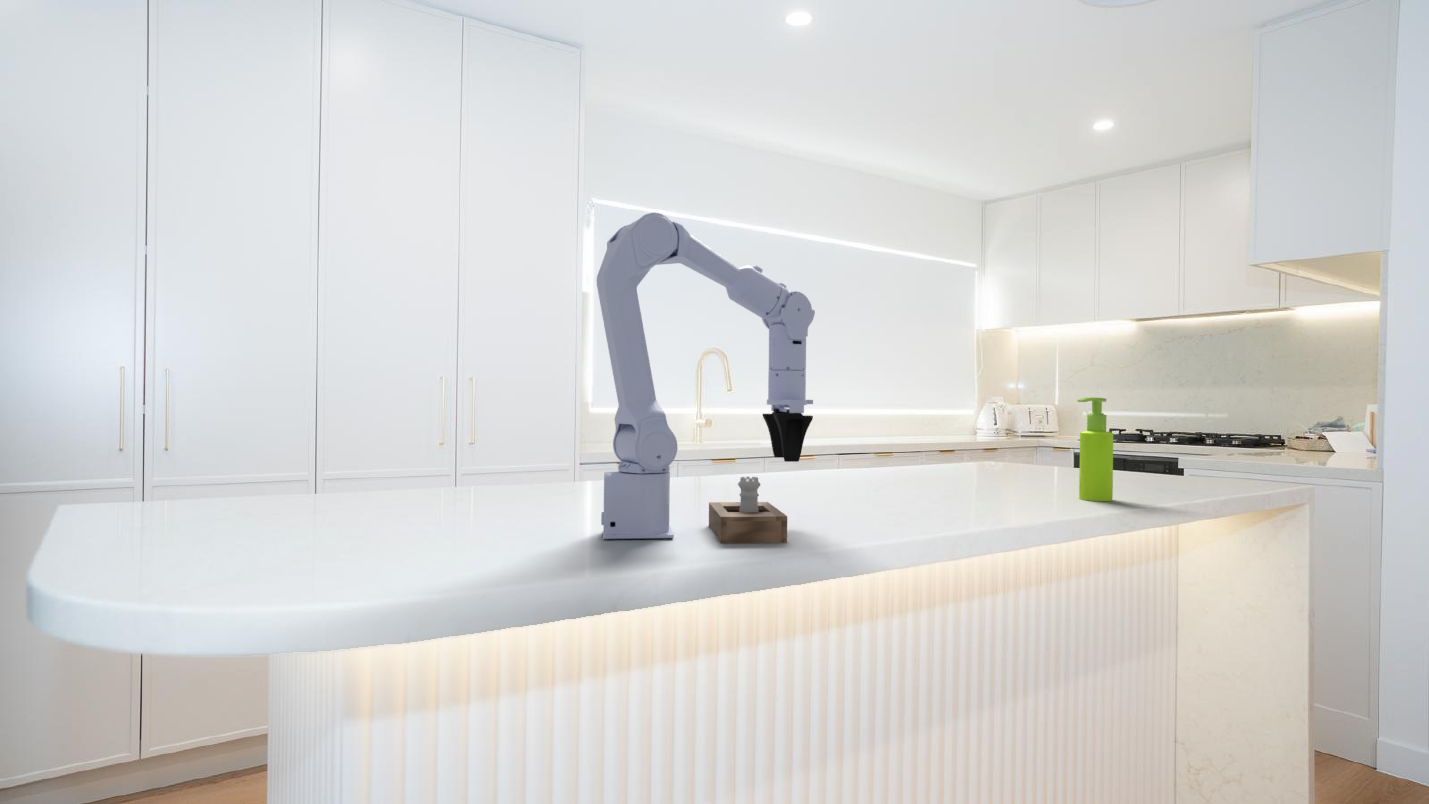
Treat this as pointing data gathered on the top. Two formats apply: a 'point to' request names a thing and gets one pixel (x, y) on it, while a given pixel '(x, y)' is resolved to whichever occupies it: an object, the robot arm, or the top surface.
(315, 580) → the top surface
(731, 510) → the brown wooden hollow block
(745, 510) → the rook chess piece
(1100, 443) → the soap dispenser
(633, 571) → the top surface
